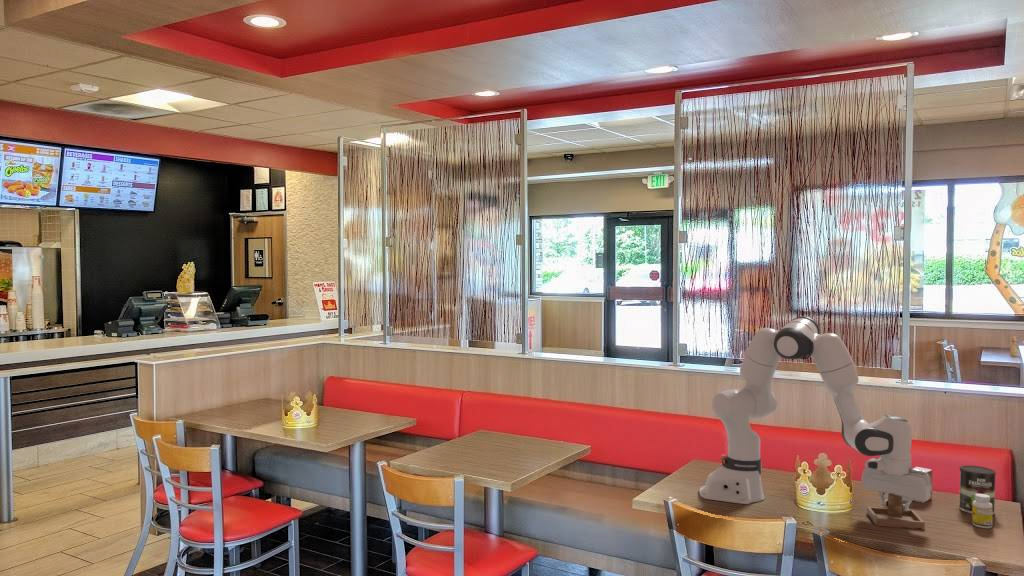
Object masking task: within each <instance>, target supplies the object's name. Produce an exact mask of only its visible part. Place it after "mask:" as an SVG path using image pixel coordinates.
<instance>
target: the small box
mask: <svg viewBox="0 0 1024 576" xmlns="http://www.w3.org/2000/svg"><path fill="white" fill-rule="evenodd" d="M912 469H915V470H919V471H925V472H926V473H927V474H929V476H930V477H931V483H930V492H931V497H930V499H928V500H927V501H920V500H915V499H913V500H912V501H914V502H919V503H923V504H924V503H927V502H928V501H929V500H932V499H933V469H930V468H925V467H920V466H915V467H913V468H912Z"/></svg>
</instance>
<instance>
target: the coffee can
mask: <svg viewBox="0 0 1024 576" xmlns="http://www.w3.org/2000/svg"><path fill="white" fill-rule="evenodd" d="M996 474H997V472H996V471H995V470H993V469H992V468H989V467H983V466H980V465H979V466H978V465H961V466H959V499H958V500H959V505H958V508H959V510H961V511H962V512H965V513H968V514H971V515H972V507H973V505H972V504H973V501H975V500H976V499H975V494H986V495H989V496H990V501H989V502H990V503H991V504H992V516H993V515H995V502H996V500H995V495H996V494H995V493H996Z"/></svg>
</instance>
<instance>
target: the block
mask: <svg viewBox="0 0 1024 576" xmlns="http://www.w3.org/2000/svg"><path fill="white" fill-rule="evenodd" d="M887 500H888V506H887V508H888V516H891V517H898V518H902V505H903V504H902V496H897V495H893V494H888V497H887Z"/></svg>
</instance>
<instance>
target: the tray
mask: <svg viewBox="0 0 1024 576" xmlns="http://www.w3.org/2000/svg"><path fill="white" fill-rule="evenodd" d="M866 514H867V515H868V516H869V518H870V519H871V520H872V522H873V523H874V524H875V526H880V527H889V528H890V527H891V528H902V527H908V528H907V529H915V528H923V529H922V530H925V529H926V528H925V521H924V520H923V519H922V518H921V517H920V516H919V514H917V512H916V511H914V510H913V509H909V510H908V511H904V510H902V518H898V517H891V516H888V507H878V506H877V507H876V506H867V507H866Z"/></svg>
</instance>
